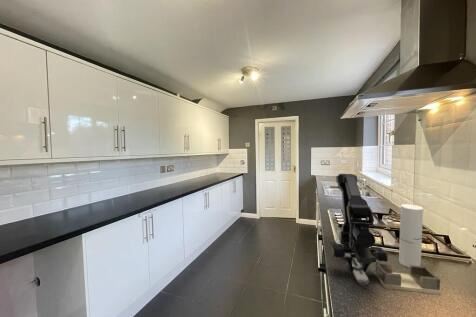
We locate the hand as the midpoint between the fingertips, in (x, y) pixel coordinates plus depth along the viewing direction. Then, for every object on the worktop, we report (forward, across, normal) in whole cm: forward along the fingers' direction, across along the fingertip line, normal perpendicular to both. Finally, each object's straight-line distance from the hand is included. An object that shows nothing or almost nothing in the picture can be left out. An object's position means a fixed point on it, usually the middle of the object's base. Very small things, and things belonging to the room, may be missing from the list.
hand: (357, 272), depth 82 cm
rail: (-1, 0, 0) cm, 1 cm away
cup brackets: (0, +15, -2) cm, 16 cm away
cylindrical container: (+1, +24, +12) cm, 27 cm away
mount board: (+1, +16, -2) cm, 16 cm away
